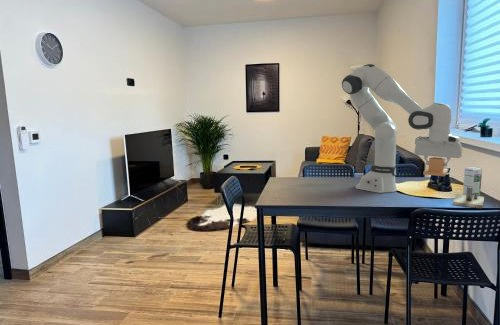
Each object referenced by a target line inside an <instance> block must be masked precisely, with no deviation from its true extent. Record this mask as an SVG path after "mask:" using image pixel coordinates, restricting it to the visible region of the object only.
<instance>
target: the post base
mask: <svg viewBox="0 0 500 325" xmlns="http://www.w3.org/2000/svg"><path fill="white" fill-rule="evenodd" d="M484 201H485V196H483V195H478V198H477V199H474V196H473V195H472V201H468V200H466V195H465V194H463V193H456V195H455V197H454V199H453V201H452V205H455V206H462V207H470V208H475V207H476V208H475V209H482V208H484Z"/></svg>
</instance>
